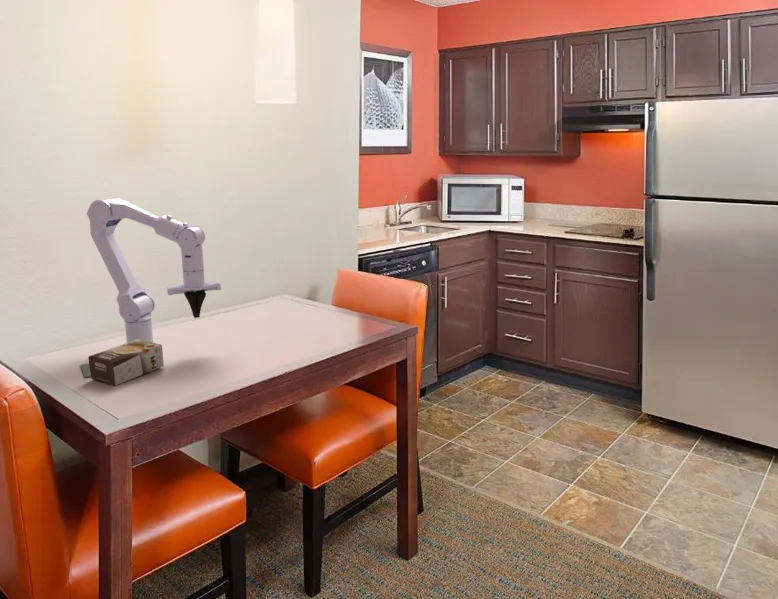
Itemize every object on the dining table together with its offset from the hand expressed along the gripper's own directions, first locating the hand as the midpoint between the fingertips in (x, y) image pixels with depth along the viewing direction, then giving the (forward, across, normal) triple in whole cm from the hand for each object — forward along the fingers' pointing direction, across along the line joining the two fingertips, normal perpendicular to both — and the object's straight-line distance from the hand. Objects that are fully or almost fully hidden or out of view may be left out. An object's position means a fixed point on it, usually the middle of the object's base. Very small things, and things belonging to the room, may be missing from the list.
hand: (196, 316), depth 195 cm
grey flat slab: (+10, -24, -3) cm, 26 cm away
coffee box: (+7, -14, -6) cm, 17 cm away
